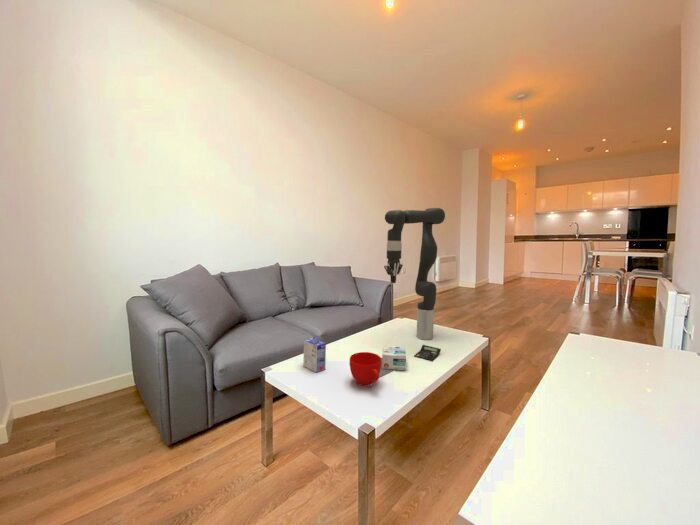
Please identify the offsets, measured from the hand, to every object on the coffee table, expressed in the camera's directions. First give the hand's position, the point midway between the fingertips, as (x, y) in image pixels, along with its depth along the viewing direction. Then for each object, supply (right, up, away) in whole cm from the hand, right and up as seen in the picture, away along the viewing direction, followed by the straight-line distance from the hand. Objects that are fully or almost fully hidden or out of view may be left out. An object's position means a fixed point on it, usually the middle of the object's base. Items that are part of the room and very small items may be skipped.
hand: (393, 282), depth 153 cm
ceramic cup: (-15, -39, -34) cm, 54 cm away
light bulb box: (-2, -33, -12) cm, 35 cm away
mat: (-11, -37, -17) cm, 42 cm away
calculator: (+16, -36, -5) cm, 40 cm away
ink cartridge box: (-38, -37, -20) cm, 57 cm away
